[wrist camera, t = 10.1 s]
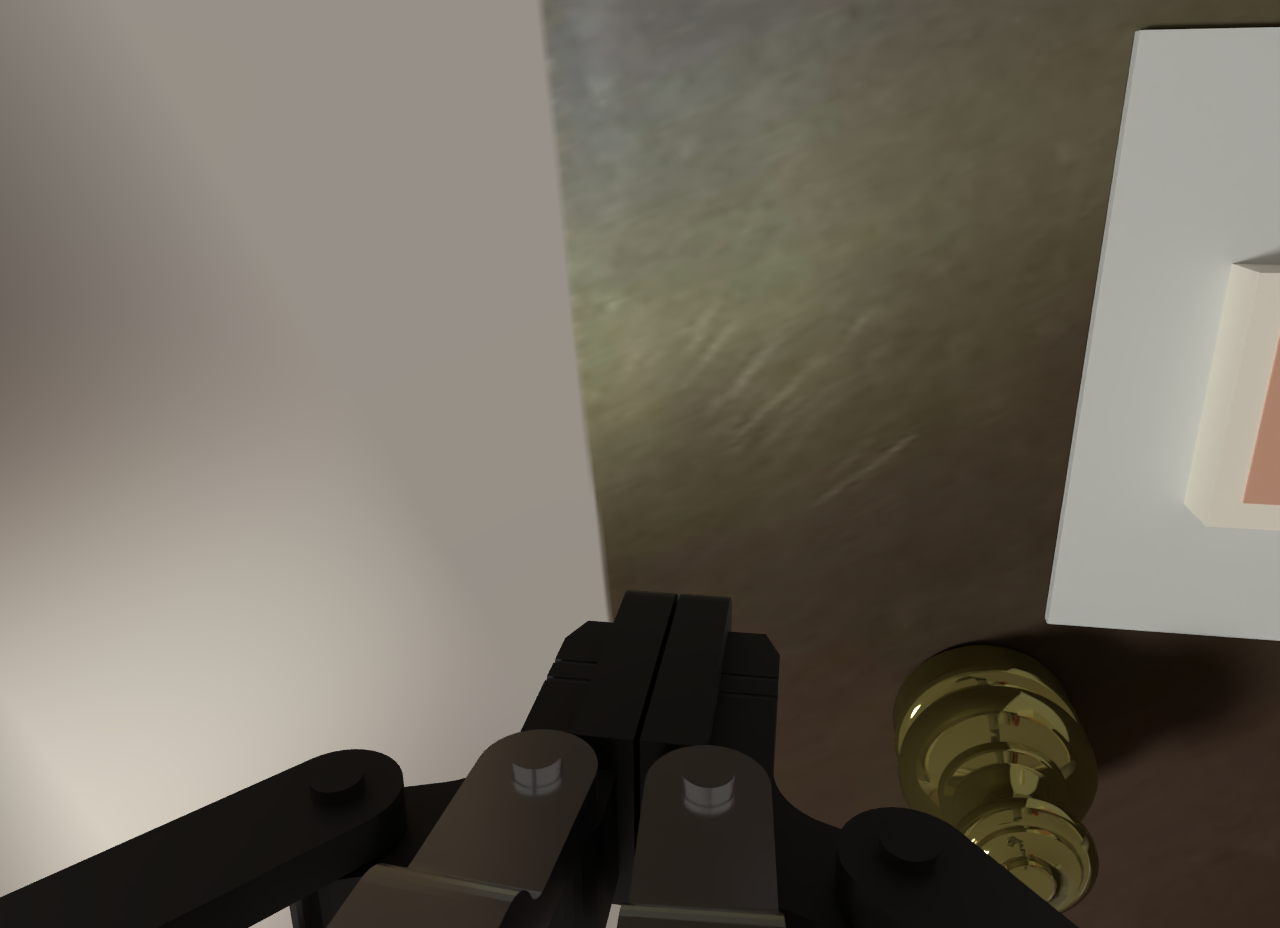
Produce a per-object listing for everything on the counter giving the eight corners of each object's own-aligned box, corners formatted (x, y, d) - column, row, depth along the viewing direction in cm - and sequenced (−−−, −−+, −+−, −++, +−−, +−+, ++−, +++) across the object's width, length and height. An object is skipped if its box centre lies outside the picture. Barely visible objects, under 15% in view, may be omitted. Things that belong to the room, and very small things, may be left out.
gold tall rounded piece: (1041, 803, 42) (1106, 996, 33) (873, 764, 43) (890, 941, 33) (1094, 662, 39) (1182, 828, 30) (914, 622, 40) (945, 772, 31)
